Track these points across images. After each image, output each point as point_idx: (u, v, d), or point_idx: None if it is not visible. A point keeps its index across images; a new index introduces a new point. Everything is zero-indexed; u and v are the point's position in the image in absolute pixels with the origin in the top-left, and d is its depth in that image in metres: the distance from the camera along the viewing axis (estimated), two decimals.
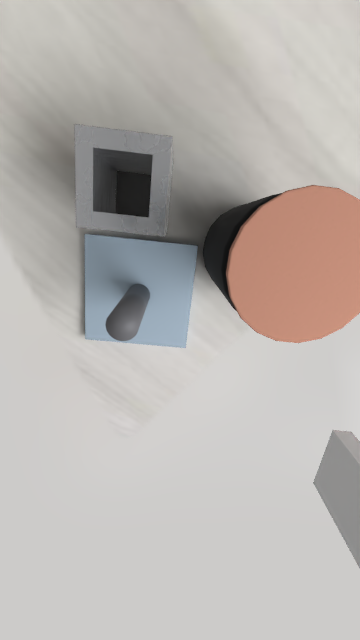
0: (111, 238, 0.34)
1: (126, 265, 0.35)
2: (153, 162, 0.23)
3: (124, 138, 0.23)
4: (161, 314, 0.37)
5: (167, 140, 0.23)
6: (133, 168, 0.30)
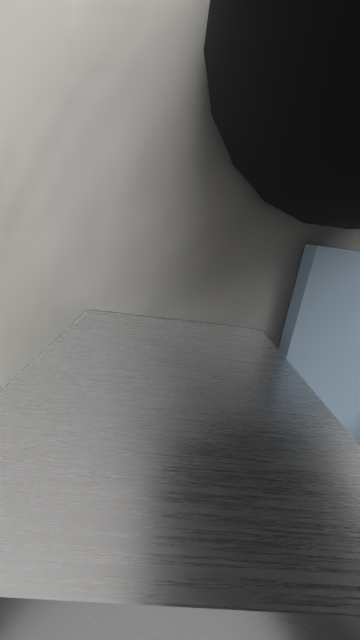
0: None
1: None
2: None
3: None
4: None
5: None
6: None
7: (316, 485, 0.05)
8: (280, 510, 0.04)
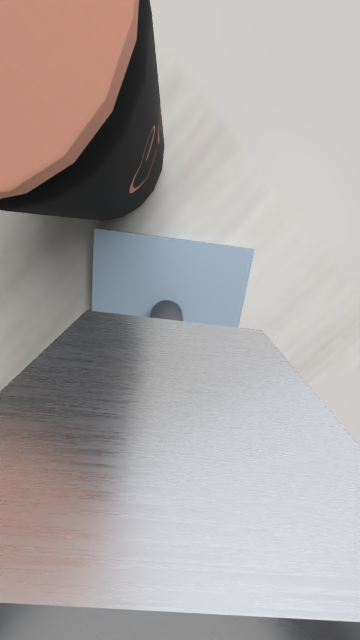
0: None
1: None
2: None
3: None
4: (196, 285, 0.25)
5: None
6: None
7: (317, 488, 0.05)
8: (281, 513, 0.04)
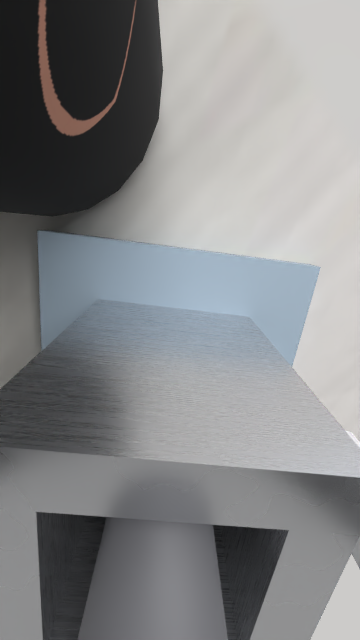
0: None
1: None
2: (66, 509, 0.05)
3: None
4: None
5: None
6: None
7: (274, 413, 0.07)
8: (246, 424, 0.06)
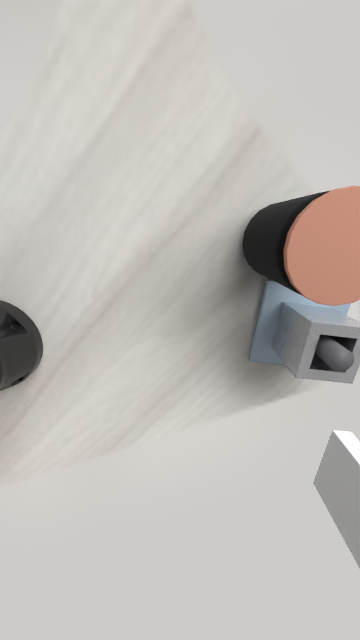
0: (255, 343, 0.46)
1: None
2: (324, 334, 0.35)
3: (307, 350, 0.36)
4: None
5: (313, 324, 0.35)
6: None
7: (352, 323, 0.37)
8: (348, 323, 0.36)
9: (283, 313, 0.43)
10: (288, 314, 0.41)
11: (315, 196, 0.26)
